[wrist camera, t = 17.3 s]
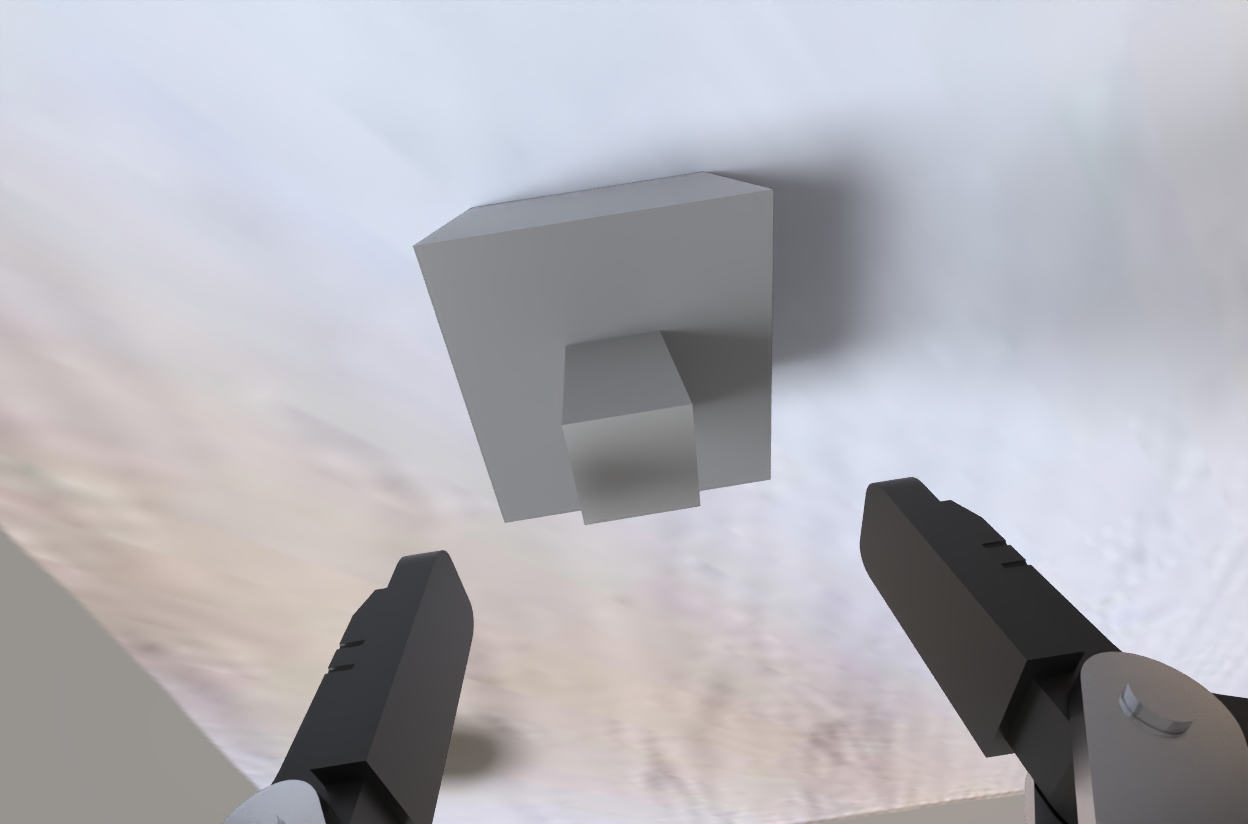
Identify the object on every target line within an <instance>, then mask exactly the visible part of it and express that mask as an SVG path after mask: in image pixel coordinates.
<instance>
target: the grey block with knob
mask: <svg viewBox="0 0 1248 824" xmlns="http://www.w3.org/2000/svg"><path fill="white" fill-rule="evenodd" d="M413 247H414V250H415V253H416V256H417V259H418V262H419V265H420V268H421V271H422V274H423V277H424V280H425V284H426V287H427V290H428V293H429V296H430V299H431V302H432V305H433V308H434V311H435V314H436V317H437V320H438V323H439V326H440V329H441V332H442V335H443V338H444V341H445V344H446V347H447V350H448V353H449V356H450V359H451V362H452V365H453V368H454V371H455V374H456V377H457V380H458V383H459V386H460V389H461V392H462V395H463V398H464V401H465V404H466V407H467V410H468V413H469V416H470V419H471V422H472V425H473V428H474V431H475V434H476V437H477V440H478V443H479V446H480V449H481V452H482V456H483V459H484V462H485V465H486V468H487V471H488V474H489V477H490V480H491V483H492V486H493V489H494V492H495V495H496V498H497V501H498V504H499V507H500V510H501V513H502V516H503V519H504V522H505V523H507V522H513V521H519V520H525V519H531V518H537V517H543V516H549V515H556V514H562V513H568V512H574V511H580V510H581V511H582V515H583V520H584V524H585V525H588V524H594V523H600V522H606V521H612V520H618V519H625V518H631V517H637V516H643V515H649V514H655V513H661V512H667V511H673V510H680V509H686V508H692V507H698V506H700V496H699V491H703V490H709V489H715V488H721V487H727V486H733V485H739V484H745V483H752V482H758V481H764V480H770V479H771V380H772V281H773V189H770V188H766V187H762V186H759V185H755V184H751V183H747V182H743V181H739V180H735V179H731V178H727V177H723V176H719V175H715V174H711V173H707V172H697V173H691V174H684V175H678V176H671V177H665V178H659V179H652V180H646V181H639V182H633V183H627V184H620V185H614V186H608V187H601V188H595V189H588V190H582V191H576V192H569V193H563V194H557V195H550V196H544V197H537V198H531V199H525V200H518V201H512V202H506V203H499V204H493V205H486V206H480V207H474V208H470V209H468V210H467V211H465V212H464V213H462V214H461V215H459V216H458V217H456V218H455V219H453V220H452V221H450V222H449V223H447V224H446V225H444V226H443V227H441V228H440V229H438V230H437V231H435V232H433V233H432V234H430V235H429V236H427V237H426V238H424V239H423V240H421V241H420V242H418V243H417V244H415V245H414V246H413Z"/></svg>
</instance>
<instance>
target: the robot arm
mask: <svg viewBox="0 0 1248 824" xmlns="http://www.w3.org/2000/svg"><path fill="white" fill-rule="evenodd" d="M860 552H861V557H862V561H863V564H864V566H865V569H866V571H867V573H868V575H869V577H870V578H871V580H872V581H873V583H874V585H875V586H876V588H877V589H878V591H879V592H880V594H881V595H882V597H883V598H884V600H885V602H886V603H887V605H888V606H889V608H890V609H891V611H892V612H893V614H894V616H895V617H896V619H897V620H898V622H899V623H900V625H901V626H902V628H903V629H904V631H905V633H906V634H907V636H908V637H909V639H910V640H911V642H912V643H913V645H914V647H915V648H916V650H917V651H918V653H919V654H920V656H921V657H922V659H923V660H924V662H925V664H926V665H927V667H928V668H929V670H930V671H931V673H932V674H933V676H934V678H935V679H936V681H937V682H938V684H939V685H940V687H941V688H942V690H943V692H944V693H945V695H946V696H947V698H948V699H949V701H950V702H951V704H952V705H953V707H954V709H955V710H956V712H957V713H958V715H959V716H960V718H961V719H962V721H963V723H964V724H965V726H966V727H967V729H968V730H969V732H970V733H971V735H972V736H973V738H974V740H975V741H976V743H977V744H978V746H979V747H980V749H981V750H982V752H983V754H984V755H985V757H993V756H999V755H1006V754H1012V753H1015V754H1016V755H1017V757H1018V758H1019V760H1020V761H1021V763H1022V764H1023V765H1024V767H1025V768H1026V770H1027V771H1028V773H1027V775H1026V778H1025V824H1248V698H1241V697H1234V696H1227V695H1220V694H1215V693H1211V692H1210V691H1208V690H1207V689H1206V688H1204V687H1203V686H1202V685H1200V684H1199V683H1198V682H1196V681H1195V680H1193V679H1191V678H1190V677H1188V676H1187V675H1185V674H1183V673H1181V672H1180V671H1178V670H1176V669H1174V668H1172V667H1170V666H1168V665H1166V664H1163V663H1161V662H1159V661H1156V660H1153V659H1150V658H1147V657H1144V656H1140V655H1136V654H1132V653H1125V652H1122V651H1121V650H1119V649H1118V648H1117V647H1116V646H1115V645H1114V644H1113V643H1111V642H1110V641H1109V640H1108V639H1107V638H1106V637H1105V636H1104V635H1103V634H1102V633H1101V632H1100V631H1099V630H1098V629H1097V628H1096V627H1095V626H1094V625H1093V624H1092V623H1091V622H1090V621H1089V620H1088V619H1087V618H1086V617H1084V616H1083V615H1082V614H1081V613H1080V612H1079V611H1078V610H1077V609H1076V608H1075V607H1074V606H1073V605H1072V604H1071V603H1070V602H1069V601H1068V600H1067V599H1066V598H1065V597H1064V596H1063V595H1062V594H1061V593H1060V592H1059V591H1058V590H1057V589H1055V588H1054V587H1053V586H1052V585H1051V584H1050V583H1049V582H1048V581H1047V580H1046V579H1045V578H1044V577H1043V576H1042V575H1041V574H1040V573H1039V572H1038V571H1037V570H1036V569H1035V568H1034V567H1033V566H1032V565H1027V563H1026V560H1025V559H1024V558H1023V557H1022V556H1021V555H1020V554H1019V553H1018V552H1017V551H1016V550H1015V549H1014V548H1013V547H1012V546H1011V545H1007V544H1006V540H1005V539H1004V538H1003V537H1002V536H1001V535H1000V534H999V533H997V532H996V531H995V530H994V529H993V528H992V527H991V526H990V525H989V524H988V523H987V522H986V521H985V520H984V519H983V518H982V517H980V516H978V515H977V514H975V513H973V512H971V511H969V510H968V509H966V508H964V507H962V506H960V505H959V504H957V503H955V502H953V501H952V500H947V501H941V502H940V501H939V500H938V499H937V498H936V497H935V496H934V495H933V493H932V492H931V491H930V490H929V489H928V488H927V487H926V486H925V485H924V484H923V483H922V482H921V481H920V480H918V479H917V478H914V477H908V478H902V479H895V480H889V481H883V482H877V483H871V484H870V485H869V486H868V488H867V491H866V497H865V505H864V513H863V521H862V529H861V537H860ZM473 628H474V621H473V611H472V607H471V603H470V601H469V598H468V596H467V594H466V592H465V589H464V587H463V585H462V582H461V580H460V578H459V576H458V573H457V571H456V569H455V567H454V564H453V562H452V560H451V558H450V556H449V554H448V553H447V552H446V551H444V550H441V551H435V552H429V553H423V554H416V555H410V556H404V557H402V558H401V559H400V560H399V562H398V564H397V566H396V568H395V571H394V573H393V575H392V578H391V580H390V582H389V585H388V587H387V588H384V589H378V590H375V591H374V592H373V593H372V594H371V595H370V597H369V598H368V599H367V600H366V601H365V602H364V603H363V605H362V606H361V607H360V608H359V609H358V610H357V611H356V613H355V614H354V615H353V616H352V619H351V621H350V623H349V625H348V627H347V629H346V631H345V633H344V635H343V638H342V640H341V642H340V649H337V650H336V652H335V654H334V657H333V659H332V661H331V663H330V665H329V667H328V669H329V672H328V674H325V676H324V678H323V680H322V682H321V684H320V686H319V688H318V690H317V692H316V694H315V697H314V699H313V701H312V703H311V705H310V707H309V709H308V711H307V713H306V716H305V718H304V720H303V722H302V724H301V726H300V728H299V730H298V732H297V735H296V737H295V739H294V741H293V743H292V745H291V747H290V749H289V751H288V754H287V756H286V758H285V760H284V762H283V764H282V766H281V768H280V770H279V772H278V774H277V776H276V778H275V780H274V781H273V783H272V784H271V785H270V786H268V787H266V788H264V789H262V790H260V791H259V792H257V793H256V794H254V795H253V796H251V797H250V798H249V799H247V800H246V801H245V802H244V803H242V804H241V805H240V806H239V807H238V808H237V809H236V810H235V811H234V812H232V814H230V815H229V816H228V818H227V819H226V820H225V821H224V822H223V823H222V824H432V822H433V817H434V812H435V808H436V803H437V799H438V794H439V789H440V785H441V780H442V776H443V771H444V766H445V762H446V757H447V753H448V748H449V743H450V739H451V734H452V730H453V725H454V720H455V716H456V711H457V707H458V702H459V697H460V693H461V688H462V683H463V679H464V674H465V670H466V665H467V660H468V656H469V651H470V647H471V642H472V637H473Z"/></svg>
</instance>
